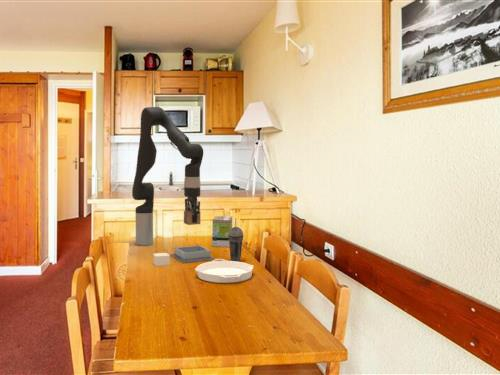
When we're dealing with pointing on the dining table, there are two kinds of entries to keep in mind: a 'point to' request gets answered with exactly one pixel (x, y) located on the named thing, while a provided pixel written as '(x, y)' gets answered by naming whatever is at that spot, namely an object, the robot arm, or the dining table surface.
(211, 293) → the dining table surface
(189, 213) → the walnut block
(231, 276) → the pan
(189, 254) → the grey shallow box
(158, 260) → the cream block
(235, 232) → the beverage cup
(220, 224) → the tea box
